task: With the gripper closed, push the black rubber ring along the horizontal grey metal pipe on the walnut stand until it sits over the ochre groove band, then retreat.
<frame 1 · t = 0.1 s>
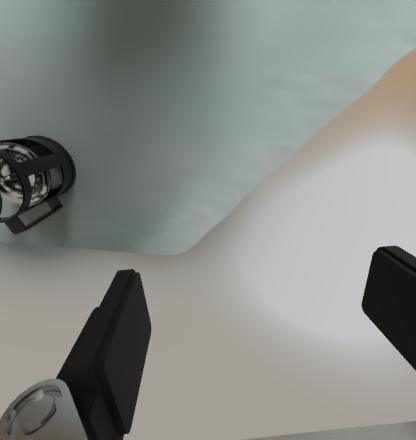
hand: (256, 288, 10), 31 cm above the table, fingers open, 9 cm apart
french press: (47, 169, 38), on the table
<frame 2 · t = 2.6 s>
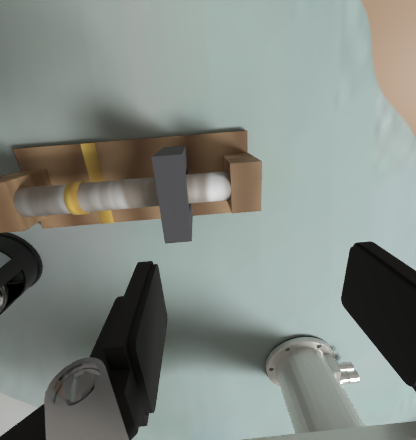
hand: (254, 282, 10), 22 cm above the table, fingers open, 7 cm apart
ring: (176, 190, 25), point 6 cm above the table, slide at -5.0 cm
pipe stand: (140, 180, 30), on the table
french press: (5, 261, 34), on the table
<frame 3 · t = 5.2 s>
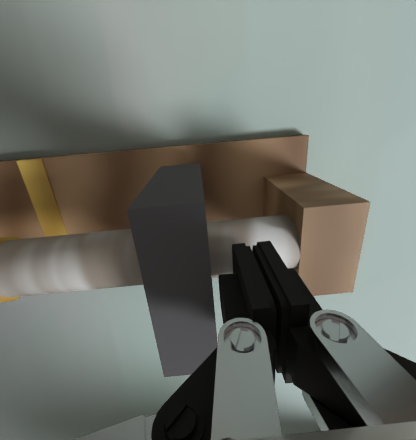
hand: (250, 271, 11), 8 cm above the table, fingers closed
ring: (185, 251, 13), point 6 cm above the table, slide at -4.9 cm, touching gripper
pipe stand: (125, 218, 18), on the table
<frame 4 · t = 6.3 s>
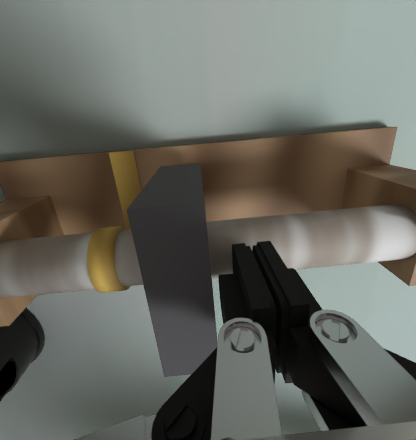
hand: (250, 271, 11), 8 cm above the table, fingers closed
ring: (185, 251, 13), point 6 cm above the table, slide at 1.2 cm, touching gripper
pipe stand: (203, 211, 18), on the table
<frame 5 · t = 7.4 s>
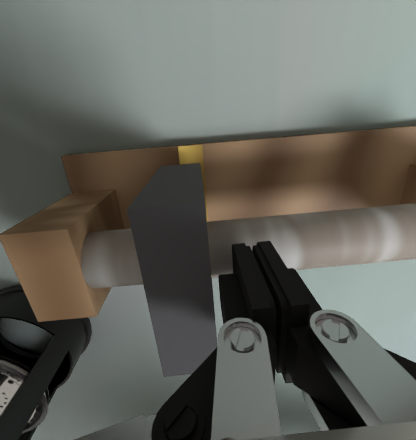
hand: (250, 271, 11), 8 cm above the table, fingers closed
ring: (185, 251, 13), point 6 cm above the table, slide at 5.7 cm, touching gripper
pipe stand: (260, 206, 18), on the table
french press: (36, 325, 22), on the table
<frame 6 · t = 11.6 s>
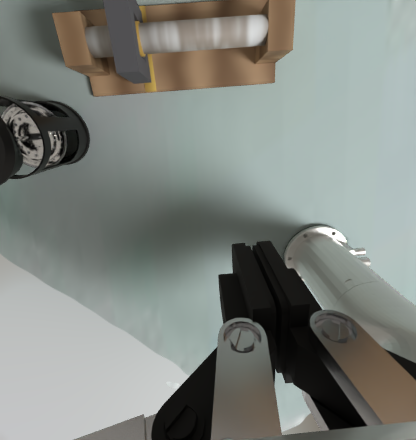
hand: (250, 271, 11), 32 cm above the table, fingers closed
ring: (130, 40, 28), point 6 cm above the table, slide at 5.8 cm
pipe stand: (181, 50, 34), on the table
french press: (57, 135, 38), on the table
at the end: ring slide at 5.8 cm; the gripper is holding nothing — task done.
